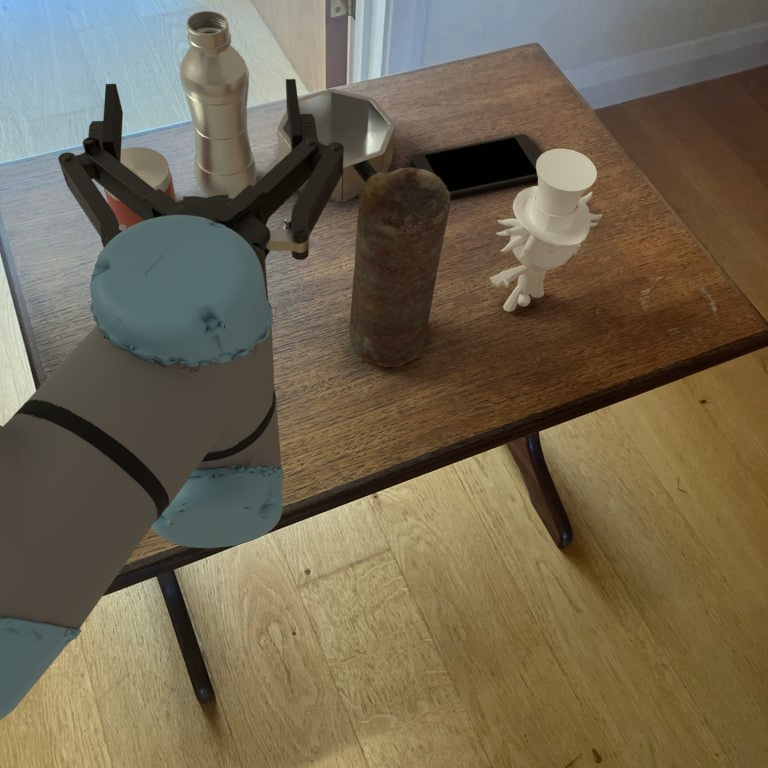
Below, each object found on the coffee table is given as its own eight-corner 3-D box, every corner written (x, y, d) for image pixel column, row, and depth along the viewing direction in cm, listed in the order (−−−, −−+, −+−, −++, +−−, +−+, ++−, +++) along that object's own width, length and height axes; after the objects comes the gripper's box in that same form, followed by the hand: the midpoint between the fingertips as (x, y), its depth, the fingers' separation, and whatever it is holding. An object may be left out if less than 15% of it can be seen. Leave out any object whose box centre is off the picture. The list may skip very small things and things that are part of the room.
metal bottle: (217, 160, 92) (194, -7, 75) (270, 182, 91) (258, 16, 74) (185, 196, 89) (154, 29, 72) (239, 218, 88) (220, 53, 71)
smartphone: (407, 159, 94) (408, 153, 93) (525, 136, 98) (527, 130, 97) (430, 204, 90) (431, 198, 90) (552, 179, 94) (554, 173, 93)
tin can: (103, 235, 85) (87, 184, 79) (131, 191, 89) (117, 140, 83) (164, 250, 85) (152, 200, 79) (189, 205, 88) (180, 155, 82)
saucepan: (265, 145, 94) (262, 109, 90) (356, 115, 98) (358, 79, 94) (340, 250, 86) (340, 216, 82) (436, 213, 90) (441, 178, 86)
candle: (425, 377, 78) (453, 229, 61) (348, 375, 77) (355, 225, 61) (422, 314, 82) (448, 159, 65) (349, 311, 82) (356, 155, 65)
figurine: (503, 351, 80) (546, 220, 65) (459, 298, 83) (489, 161, 68) (585, 310, 84) (643, 176, 69) (539, 260, 87) (584, 123, 72)
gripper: (25, 356, 54) (51, 139, 66) (395, 331, 58) (359, 128, 69) (-12, 283, 48) (23, 57, 59) (405, 259, 52) (364, 50, 63)
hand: (203, 95), depth 64 cm, fingers open, 13 cm apart
